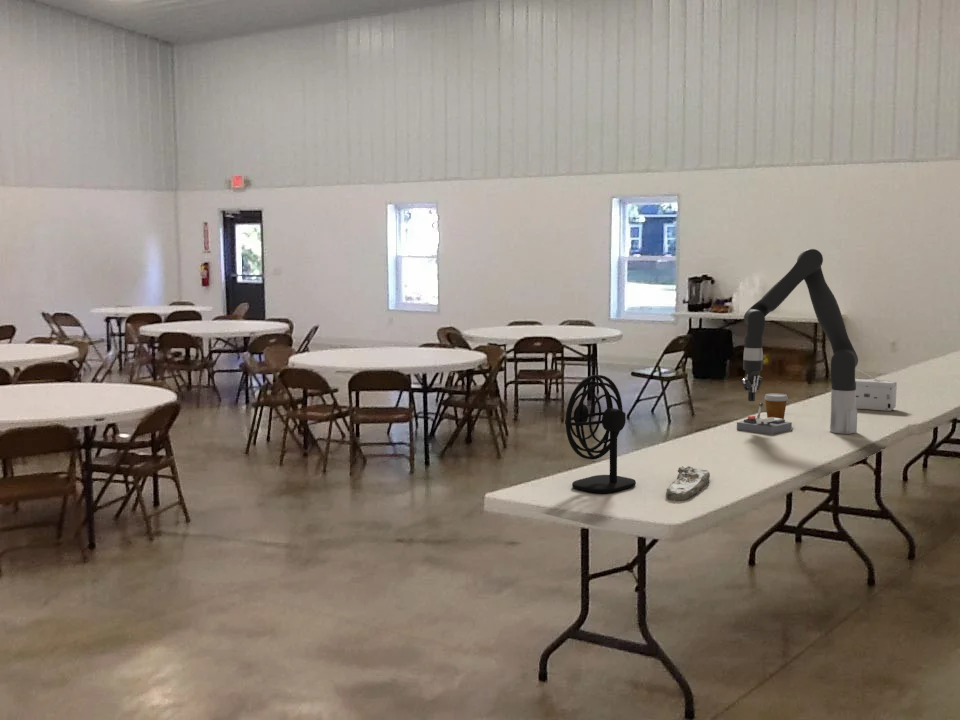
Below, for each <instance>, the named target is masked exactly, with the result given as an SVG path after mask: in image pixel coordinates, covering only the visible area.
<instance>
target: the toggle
mask: <svg viewBox="0 0 960 720" xmlns="http://www.w3.org/2000/svg"><path fill="white" fill-rule="evenodd" d="M758 405H759V407H758V411H757V416H756V418H758V419H759V418H761V417H760V416H761V413H762V409H763V406H764V404H763V402H760V403H758Z"/></svg>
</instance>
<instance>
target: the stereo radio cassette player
mask: <svg viewBox="0 0 960 720" xmlns="http://www.w3.org/2000/svg"><path fill="white" fill-rule="evenodd" d="M855 370H856V371H859V372H860V373H862V374H863V375H866V376H867V377H870V378H871V379H864V378H855V382H856V402H855V408H856V409H857V410H858V409H859V410H861V409H862V410H871V411H872V410H873V411H874V410H875V411H887V412H890V411H892V410H894V409H895V408H896V406H897V405H896V404H897V381H896V380H880V379H877V378H875V377H873V376H872V375H870V374H868V373H866V372H864V371H862V370H860V369H858V368H856V367H855Z"/></svg>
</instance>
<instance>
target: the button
mask: <svg viewBox="0 0 960 720" xmlns="http://www.w3.org/2000/svg"><path fill="white" fill-rule="evenodd" d="M755 418H756V415H752V414H751V415H747V419H750V420H754V419H755Z"/></svg>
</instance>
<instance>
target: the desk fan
mask: <svg viewBox="0 0 960 720" xmlns="http://www.w3.org/2000/svg"><path fill="white" fill-rule="evenodd" d="M592 379H593V380H594V379H596V380H598V381H593V380H592ZM603 380H604V381H605V382H604V381H603ZM606 382H607V383H606ZM589 385H590V386H589ZM588 386H589V387H588ZM598 386H599V387H600V388H601V389H602V390H603V393H604V394H601V395H599V396H598V397H597V395H596V394H594V393H593V392H591V391H592V390H593V389H594V388H597V387H598ZM607 387H608V388H610V390H611V391H612V392H613V394H614V395H615V396H613V395H612V394H610V392H609V390H608V389H607ZM581 390H582V392H580V391H581ZM588 394H589V395H591V396H592V397H593V398H594V399H595V400H594V401H593V403H592V405H591V408H590V411H589V409H588V407H587V405H586V404H584V401H585V399H586V397H587V396H588ZM604 397H605V403H606V409H605V410H604V411H602V407H601V406H602V405H601V402H600V400H601V399H602V398H604ZM579 398H580V399H579ZM578 399H579V401H578V405H577V406H576V407H575V409H574V405H575V404H576V402H577V400H578ZM613 401H614V402H615V403H616V406H617V408H614V405H613ZM622 402H623V401H622V398H621V393H620V391H619V388H618V386H616V384H615V382H614V381H613V380H612V379H610V378H609V377H607V376H605V375H602V374H592V375H589V376H587V377H584V378H583V379H582V380H581V381H580V382H579V383H578V384H577V385H576V387H575V389H574V390H573V392H572V393H571V396H570V398H569V401H568V403H567V408H566V413H565V420H564V424H565V432H566V435H567V439H568V442H569V445H570V447H571V449H572V450H573V451H574V452H575V454H576V455H577V456H579V457H580V458H583V459H585V460H597V459H600V458H602V457H603V456H605V455H606V454H607V453H608V452H609V474H597V475H593V476H588V477H585V478H581V479H580V478H579V479H577V480H574V481H573V482H572V484H571V486H572V488H574V489H575V490H580V491H585V492H590V493H598V494H607V493H614V492H619V491H622V490H625V489H629V488H632V487H634V486H636V484H637V483H636V480H635V479H633V478H630V477H626V476H621V475H618V438H619V434H620V432H621V431H623V429H624V428H625V426H626V422H627V421H626V420H627V419H626V418H627V417H626V412H624V410H623V403H622ZM596 405H597V406H598V412H594V409H595V407H596ZM573 409H574V412H573ZM572 413H573V416H572ZM597 416H598V418H597V420H594V421H592V418H593V417H597ZM572 421H573V422H572ZM600 424H601V425H602V428H603V429H604V431H605V433H604V434H603V436H602V438H601V439H600V440H599V439H598V438H597V437H596V435H595V434H596V432H597V430H598V428H599V427H600ZM593 425H595V428H594V430H593V428H592V427H593ZM584 426H588V428H589V432H590V434H589V435H588V436H585V431H584V430H585V429H584ZM573 427H575V430H574V428H573ZM573 436H574V437H575V438H577V439H578V441H579V443H580V445H581V446H582V447H581V446H579V445H578V444H577V442H576V440H575V439H574V437H573ZM591 438H593V439H594V440H595V441H596V442H597V444H595V446H593V447H589V446H588V444H587V440H588V439H591ZM601 446H603V447H602V448H601V449H598V448H600V447H601ZM597 449H598V450H597ZM582 452H586V453H587V455H586V454H583V453H582ZM592 453H595V454H596V455H594V454H592Z"/></svg>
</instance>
